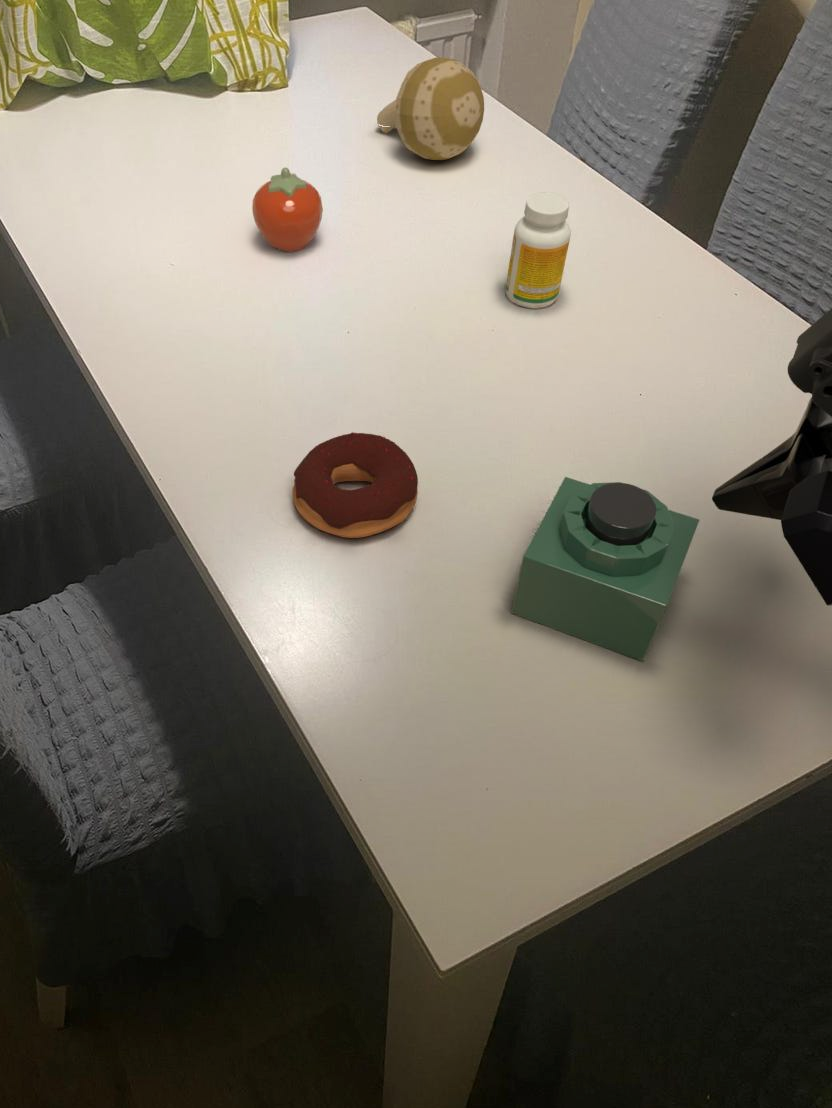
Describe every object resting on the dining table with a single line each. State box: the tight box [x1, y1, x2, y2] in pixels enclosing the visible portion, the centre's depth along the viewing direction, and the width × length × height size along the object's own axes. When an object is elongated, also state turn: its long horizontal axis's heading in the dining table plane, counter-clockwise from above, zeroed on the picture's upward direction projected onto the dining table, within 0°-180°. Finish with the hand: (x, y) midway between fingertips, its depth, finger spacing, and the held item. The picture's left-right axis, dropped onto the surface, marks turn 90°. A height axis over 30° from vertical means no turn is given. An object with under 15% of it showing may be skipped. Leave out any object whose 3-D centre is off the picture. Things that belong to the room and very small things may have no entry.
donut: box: [292, 431, 419, 539], centre depth 74 cm, size 10×10×4 cm
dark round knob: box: [585, 482, 656, 546], centre depth 63 cm, size 4×4×2 cm
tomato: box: [251, 167, 324, 253], centre depth 97 cm, size 7×7×8 cm
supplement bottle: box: [505, 191, 572, 309], centre depth 90 cm, size 5×5×10 cm
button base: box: [510, 476, 700, 662], centre depth 67 cm, size 10×9×8 cm
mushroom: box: [376, 56, 485, 161], centre depth 110 cm, size 10×11×15 cm
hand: (715, 500), depth 59 cm, fingers closed
